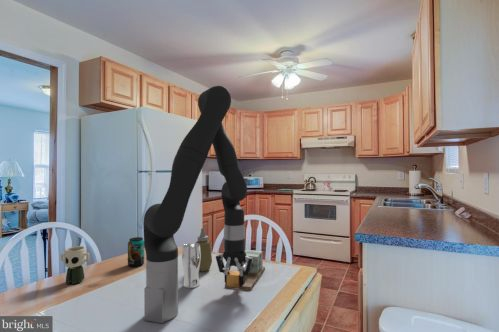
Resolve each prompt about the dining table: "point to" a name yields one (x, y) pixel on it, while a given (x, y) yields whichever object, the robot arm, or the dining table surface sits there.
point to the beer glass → (191, 264)
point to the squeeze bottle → (204, 251)
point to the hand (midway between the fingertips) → (234, 284)
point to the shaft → (234, 277)
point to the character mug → (75, 263)
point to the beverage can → (136, 252)
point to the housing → (252, 270)
